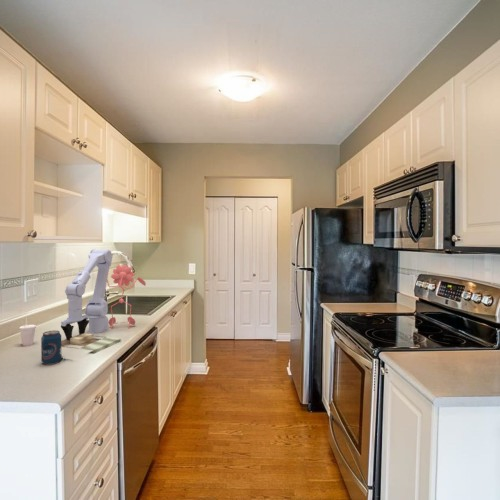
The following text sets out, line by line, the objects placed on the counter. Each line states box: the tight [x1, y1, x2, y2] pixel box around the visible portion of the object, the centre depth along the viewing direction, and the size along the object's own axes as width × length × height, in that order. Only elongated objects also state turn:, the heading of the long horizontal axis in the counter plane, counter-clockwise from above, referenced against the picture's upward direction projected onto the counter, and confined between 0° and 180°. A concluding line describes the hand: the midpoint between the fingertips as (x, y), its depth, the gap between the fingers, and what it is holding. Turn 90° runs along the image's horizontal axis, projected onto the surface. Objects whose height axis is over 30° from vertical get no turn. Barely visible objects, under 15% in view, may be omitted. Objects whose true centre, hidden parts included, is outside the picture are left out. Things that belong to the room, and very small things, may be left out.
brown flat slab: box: [61, 334, 122, 355], centre depth 157 cm, size 18×24×2 cm
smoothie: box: [19, 316, 37, 347], centre depth 152 cm, size 6×6×14 cm
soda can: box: [40, 330, 63, 366], centre depth 134 cm, size 7×7×12 cm
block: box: [69, 332, 94, 346], centre depth 157 cm, size 9×5×2 cm, turn 164°
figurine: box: [106, 264, 147, 330], centre depth 192 cm, size 15×26×35 cm, turn 98°
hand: (75, 337), depth 158 cm, fingers open, 7 cm apart
